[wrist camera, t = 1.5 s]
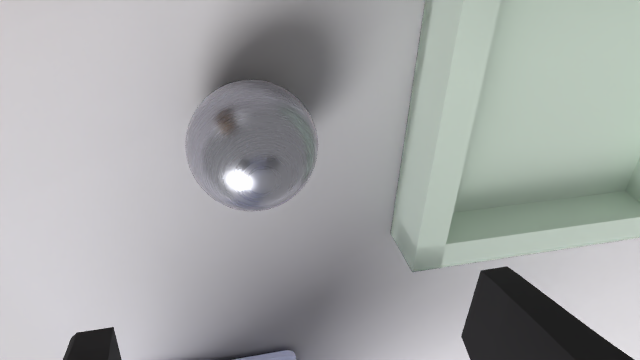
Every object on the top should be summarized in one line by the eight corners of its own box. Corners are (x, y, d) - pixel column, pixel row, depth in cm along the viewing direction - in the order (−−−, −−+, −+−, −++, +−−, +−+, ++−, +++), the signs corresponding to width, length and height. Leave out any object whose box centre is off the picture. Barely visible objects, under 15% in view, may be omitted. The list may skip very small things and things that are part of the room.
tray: (628, 201, 26) (666, 233, 24) (390, 233, 23) (412, 271, 21) (779, -141, 18) (854, -135, 16) (448, -156, 15) (491, -150, 13)
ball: (300, 161, 20) (329, 229, 17) (187, 172, 19) (195, 246, 16) (303, 56, 18) (337, 111, 15) (176, 62, 17) (183, 122, 14)
